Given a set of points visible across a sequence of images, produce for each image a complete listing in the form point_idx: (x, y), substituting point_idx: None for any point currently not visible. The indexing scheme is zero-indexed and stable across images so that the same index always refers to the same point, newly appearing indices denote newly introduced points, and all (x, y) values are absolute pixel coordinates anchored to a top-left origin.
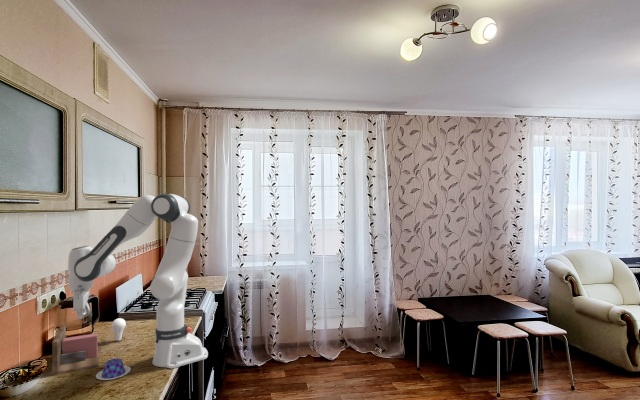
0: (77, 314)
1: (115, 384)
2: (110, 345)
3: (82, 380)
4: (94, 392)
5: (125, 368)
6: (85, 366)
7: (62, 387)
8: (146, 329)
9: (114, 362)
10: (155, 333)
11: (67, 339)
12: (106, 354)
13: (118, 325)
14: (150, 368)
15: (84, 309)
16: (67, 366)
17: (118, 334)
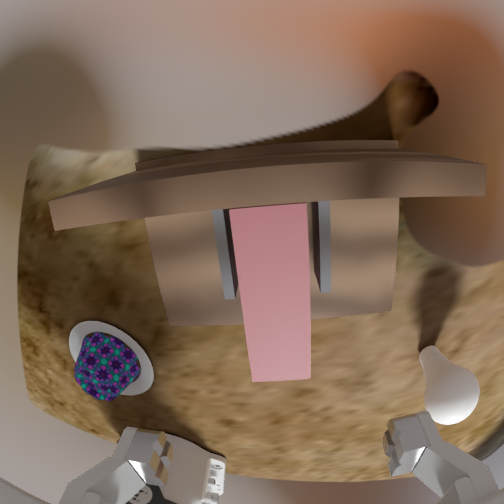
0: (101, 464)
1: (54, 357)
2: (396, 332)
3: (78, 285)
4: (24, 318)
5: (136, 385)
6: (161, 287)
7: (47, 237)
8: None
9: (93, 384)
10: (128, 501)
11: (262, 231)
12: None
13: (429, 405)
14: (127, 422)
15: (390, 471)
16: (187, 216)
17: (425, 372)
